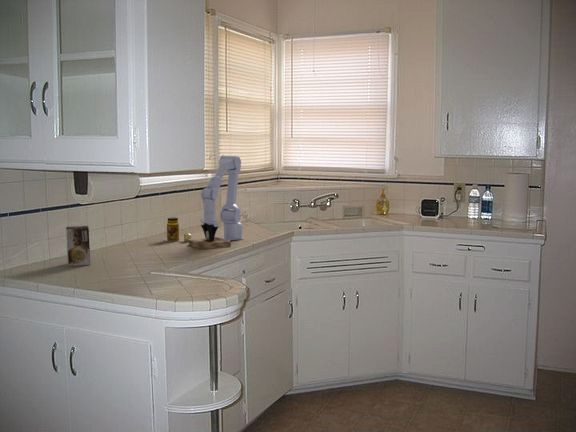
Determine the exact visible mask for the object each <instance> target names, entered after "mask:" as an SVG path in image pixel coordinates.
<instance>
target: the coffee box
mask: <svg viewBox="0 0 576 432" xmlns="http://www.w3.org/2000/svg"><path fill="white" fill-rule="evenodd" d="M65 231H66V232H65V233H66V248H67V249H66V253H67V266H68V267H79V266H89V265H91V249H90V248H91V247H90V228H89V225H75V226H66V227H65Z"/></svg>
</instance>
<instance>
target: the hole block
mask: <svg viewBox="0 0 576 432" xmlns="http://www.w3.org/2000/svg"><path fill="white" fill-rule="evenodd" d="M221 238H222V237H218V236H215V237H214V240H213V241H212V242H206V238H205V237H204V238H197V239H191V240H189V242H188V246H191V247H192V248H193V247H194V248H197V249H200V250H209V249H219V247H220V248H225V247H226V246H228V247H231V246H232V240H230V241H228V240H225V239H221ZM226 248H227V247H226Z"/></svg>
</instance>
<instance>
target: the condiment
mask: <svg viewBox="0 0 576 432" xmlns="http://www.w3.org/2000/svg"><path fill="white" fill-rule="evenodd" d="M163 241H165V242H168V243H175V242H176V243H177V242H182V240H181V239H180V225H179V218H178V217H176V216H175V217H172V216H171V217H168V218H167V223H166V239H165V238H164V239H163Z"/></svg>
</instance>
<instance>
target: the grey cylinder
mask: <svg viewBox="0 0 576 432" xmlns="http://www.w3.org/2000/svg"><path fill="white" fill-rule="evenodd" d="M212 241H213V240H210V239H209V232H208V230H206V242H212Z"/></svg>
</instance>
